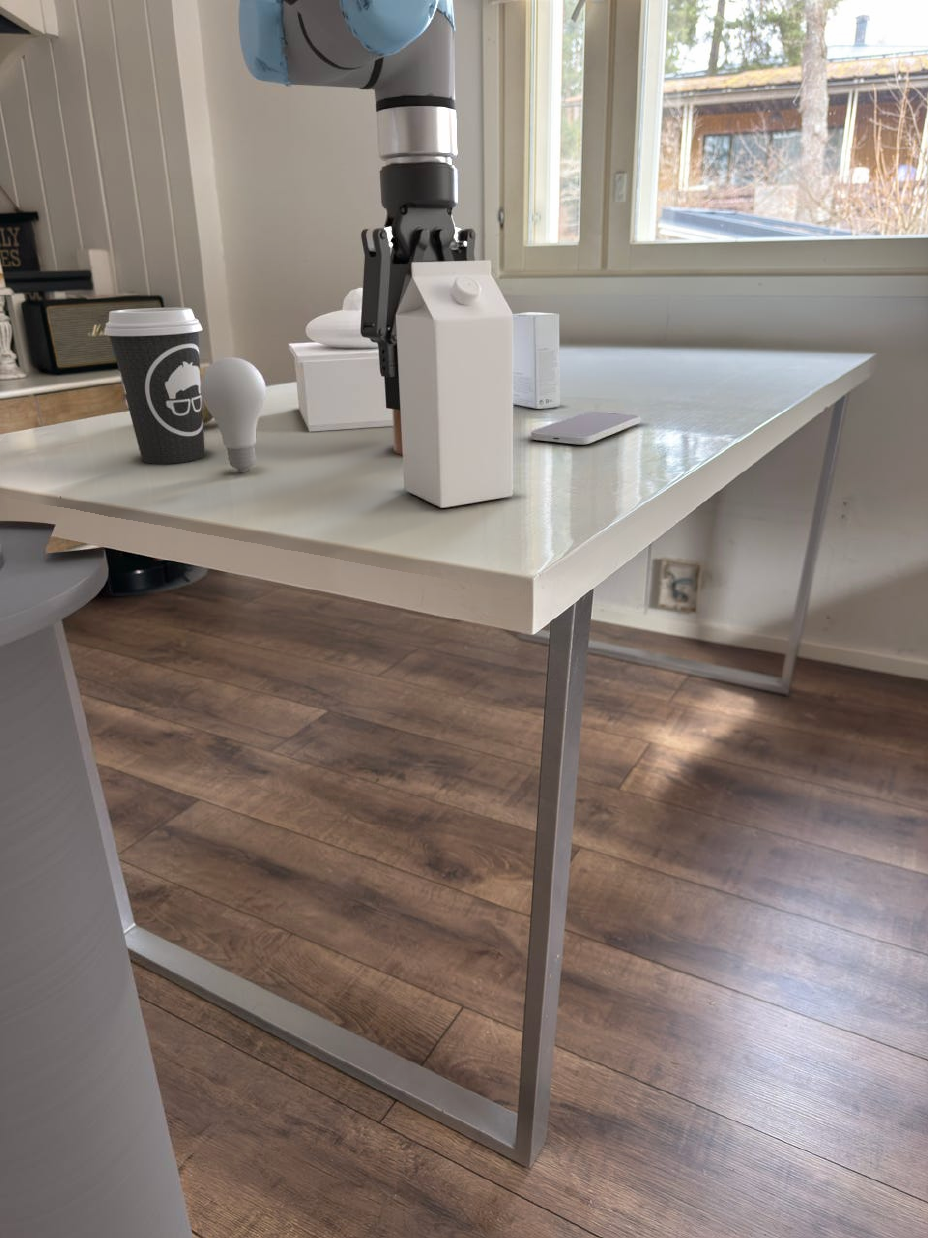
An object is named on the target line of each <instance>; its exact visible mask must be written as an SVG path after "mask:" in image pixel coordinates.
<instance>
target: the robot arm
mask: <svg viewBox="0 0 928 1238" xmlns="http://www.w3.org/2000/svg"><path fill="white" fill-rule="evenodd" d="M238 34H239V42H240V43H239V44H240V48H241V53H242V57H243V61H244V63H245V66H246V67H247V69H248V71H249V73H250V75H251V76H252V77H253V78H255V79H256V80H258V81H261V82H265V83H266V82H267V83H273V84H274V83H275V84H280V85H284V86H286V88H287V87H289V88H290V87H292V86H307V87H308V86H310V87H330V88H347V89H348V88H351V89H359V90H374V97H375V112H376V126H377V145H378V158H379V159H380V160H381V161H382V162H385V165H383V166H381V169H380V170H379V187H380V204H381V206H382V208H383V209H385V210H386V219H385V221H384V224H383V226H381V227H377V228H376V227H375V228H364V229H362V231H361V233H360V239H361V244H362V249H363V254H364V259H363V260H364V261H363V278H362V279H363V280H362V288H363V294H362V311H361V328H360V332H361V335H362V336H363V337H365V338H370V340H371V341H372V342H374V343H377V344H378V349H379V361H380V362H379V365H380V373H381V376H383V377H384V380H385V398H386V408H388V409H395V410H401V409H400V389H399V368H398V348H397V328H396V313H397V311H398V308H399V306H400V304H401V301H402V299H403V297H404V294H405V292H406V290H407V287H408V285H409V283H410V281H411V278H412V268H411V263H413V262H449V261H476V260H475V258H476V257H475V247H476V245H475V244H476V236H477V235H476V231H475V229H474V228H460V227H456V224H455V221H454V217H453V208H455V207H456V206H457V205H458V202H459V201H458V199H459V195H458V194H459V193H458V169H457V168H456V166H455V165H454V164H452V160H454V159H455V158H456V157H457V156H458V143H457V142H458V141H457V112H456V77H455V76H456V75H455V74H456V73H455V70H456V68H455V35H456V24H455V13H454V0H239V4H238ZM3 565H4V556H3V551H2V547H1V543H0V569H1V568H2V567H3Z"/></svg>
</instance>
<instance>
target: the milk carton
mask: <svg viewBox="0 0 928 1238" xmlns="http://www.w3.org/2000/svg"><path fill="white" fill-rule="evenodd" d="M411 268H412V278H411V281H410V283H409V285H408V287H407V290H406V292H405V294H404V297H403V299H402V301H401V304H400V306H399V308H398V311H397V313H396V328H397V348H398V368H399V389H400V409H401V429H402V449H403V455H402V465H403V483H404V484H403V485H404V486H403V487H404V491H406V492H407V493H410V494H412V495H414V496H416V497H418V498H420V499H422V500H424V501H426V502H428V503H430V504H431V505H434V506H437V507H439V508H440V509H443V508H444V509H445V508H451V507H456V506H463V505H467V504H469V505H470V504H475V503H479V502H485V501H492V500H498V499H504V498H510V497H512V496H513V494H514V404H513V314H514V313H513V311H512V309H511V308H510V306H509V304H508V302H507V301H506V299H505V297H504V295H503V293H502V292H501V289H500V288H499V286H498V284H497V282H496V281H495V278H494V277H493V275H492V260H490V259H487V260H486V259H485V260H475V261H449V262H413V263H411Z"/></svg>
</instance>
